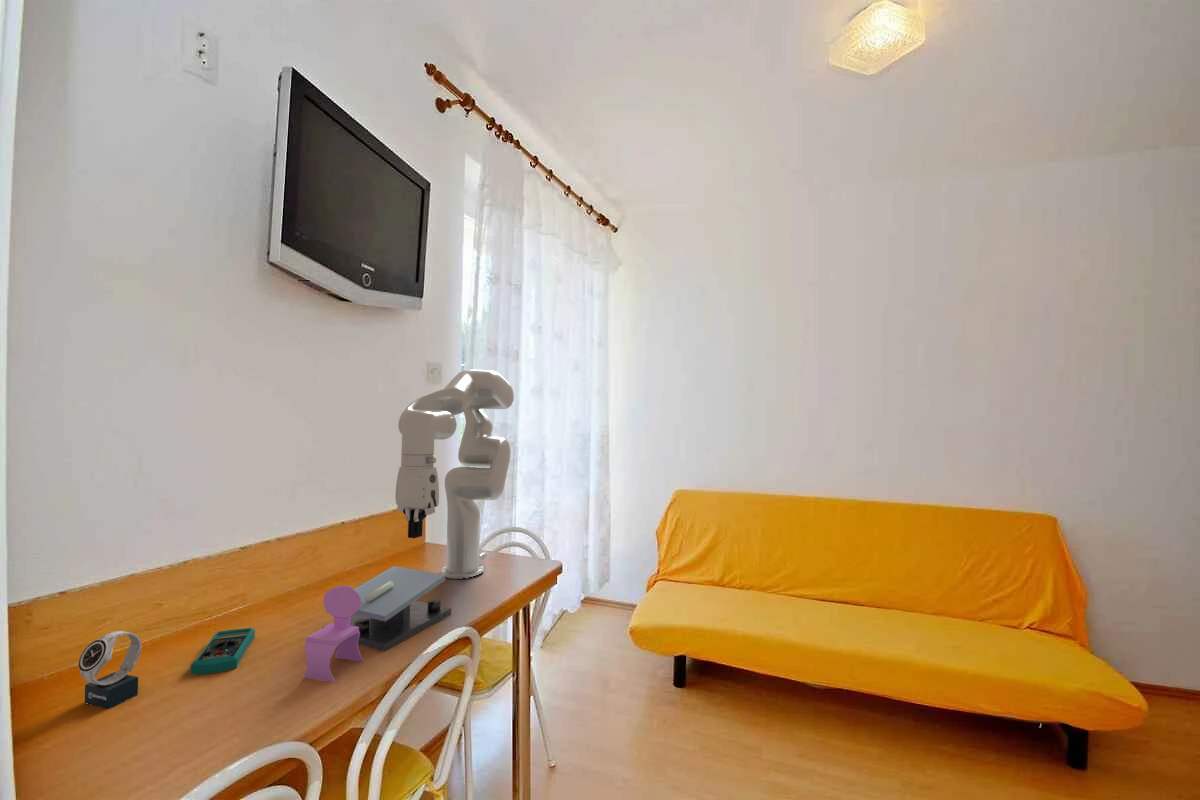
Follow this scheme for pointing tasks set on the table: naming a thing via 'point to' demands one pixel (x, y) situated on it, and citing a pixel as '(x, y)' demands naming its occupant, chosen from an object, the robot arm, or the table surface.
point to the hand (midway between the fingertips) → (415, 536)
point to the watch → (115, 684)
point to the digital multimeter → (223, 651)
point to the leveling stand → (399, 624)
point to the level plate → (394, 591)
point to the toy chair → (334, 634)
